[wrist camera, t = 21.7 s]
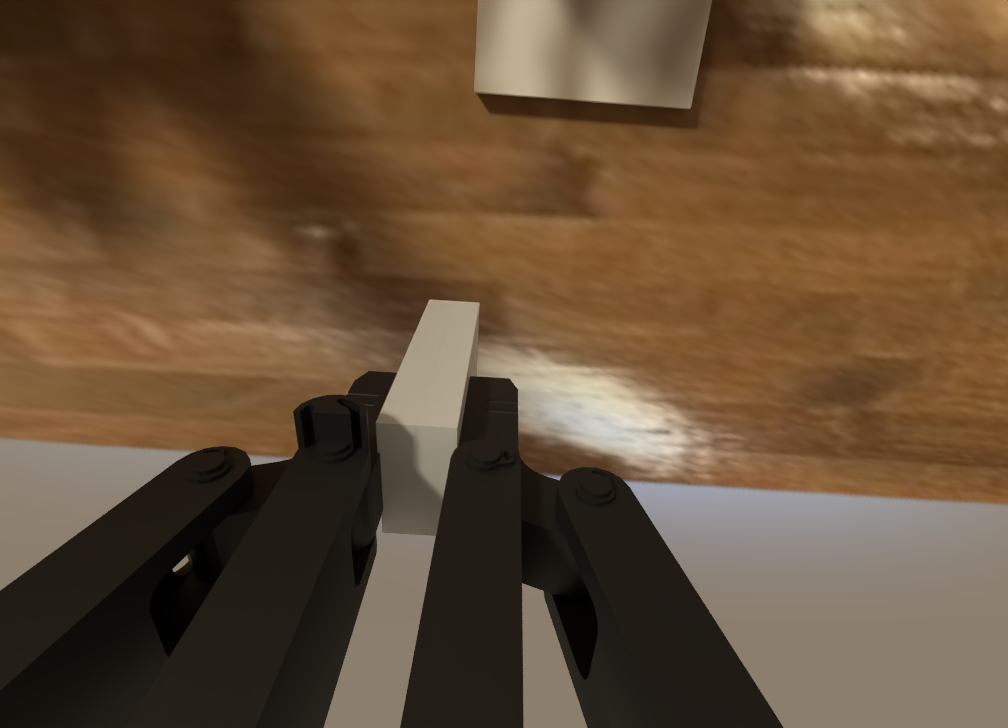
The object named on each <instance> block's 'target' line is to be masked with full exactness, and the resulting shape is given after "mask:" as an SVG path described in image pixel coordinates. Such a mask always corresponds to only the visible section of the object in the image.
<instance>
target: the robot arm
mask: <svg viewBox="0 0 1008 728" xmlns="http://www.w3.org/2000/svg"><path fill="white" fill-rule="evenodd" d="M479 306H480V303H476V302H461V301H445V300H430V299H429V302H428V304H427V306H426V308H425V311H424V313H423V315H422V318H421V320H420V322H419V324H418V327H417V329H416V331H415V334H414V336H413V338H412V341H411V343H410V345H409V347H408V350H407V352H406V354H405V357H404V359H403V361H402V364H401V366H400V368H399V370H398V373H391V372H375V371H368V372H367V373H365V374H364V375H363V376H361V377H360V378H358V379H357V380H355V381H354V383H353V385H352V387H351V388H350V390H349V392H348V394H347V395H346V396H345V395H326V396H321V397H317V398H313V399H311V400H308V401H306V402H304V403H302V404H301V405H299V406H298V407H297V408H296V409H295V410H294V411H293V413H294V420H295V427H296V433H297V440H298V447H299V449H298V450H297V452H296V453H295V455H294V457H293V458H292V459H289V460H285V461H280V462H274V463H267V464H261V465H253V466H251V462H250V458H249V457H248V455H247V454H246V452H245V451H242V450H240V449H238V448H235V447H225V446H220V447H211V448H206V449H203V450H200V451H196V452H193V453H190V454H189V455H187V456H185V457H184V458H182V459H180V460H178V461H176V462H175V463H174V464H172V465H171V466H170V467H168V468H167V469H166V470H164V471H163V472H162V473H160V474H159V475H157V476H156V477H155V478H153V479H152V480H151V481H150V482H148V483H147V484H145V485H144V486H143V487H141V488H140V489H138V490H137V491H136V492H134V493H133V494H132V495H130V496H129V497H127V498H126V499H125V500H123V501H122V502H121V503H119V504H118V505H116V506H115V507H114V508H112V509H111V510H110V511H108V512H107V513H106V514H104V515H103V516H102V517H100V518H99V519H97V520H96V521H95V522H93V523H92V524H91V525H89V526H88V527H87V528H85V529H84V530H82V531H81V532H80V533H78V534H77V535H76V536H74V537H73V538H72V539H70V540H69V541H68V542H66V543H65V544H63V545H62V546H61V547H59V548H58V549H57V550H55V551H54V552H52V553H51V554H50V555H48V556H47V557H46V558H44V559H43V560H42V561H40V562H39V563H37V564H36V565H35V566H33V567H32V568H31V569H29V570H28V571H27V572H25V573H24V574H22V575H21V576H20V577H18V578H17V579H16V580H14V581H13V582H12V583H10V584H9V585H7V586H6V587H5V588H3V589H2V590H1V591H0V728H323V727H324V724H325V720H326V717H327V714H328V711H329V707H330V704H331V701H332V698H333V694H334V691H335V688H336V685H337V681H338V678H339V675H340V671H341V668H342V665H343V661H344V658H345V655H346V652H347V648H348V645H349V642H350V638H351V635H352V632H353V629H354V625H355V622H356V619H357V615H358V612H359V609H360V605H361V602H362V599H363V596H364V592H365V589H366V586H367V583H368V579H369V576H370V573H371V569H372V566H373V563H374V559H375V556H376V552H377V539H376V530H377V527H378V524H379V521H380V518H381V515H382V530H383V532H384V533H400V534H417V535H434V536H436V539H435V544H434V549H433V555H432V560H431V566H430V571H429V576H428V582H427V587H426V592H425V598H424V603H423V608H422V614H421V619H420V625H419V630H418V636H417V641H416V646H415V651H414V657H413V663H412V668H411V673H410V678H409V684H408V689H407V694H406V700H405V706H404V711H403V716H402V721H401V726H400V728H523V654H522V652H523V651H522V650H523V648H522V646H523V644H522V583H524V584H526V585H529V586H532V587H535V588H537V589H540V590H543V591H544V597H545V601H546V604H547V607H548V610H549V613H550V616H551V619H552V622H553V625H554V628H555V631H556V634H557V637H558V640H559V643H560V646H561V649H562V651H563V655H564V658H565V661H566V664H567V667H568V670H569V673H570V676H571V679H572V682H573V685H574V688H575V691H576V694H577V697H578V700H579V703H580V706H581V709H582V712H583V715H584V718H585V721H586V724H587V727H588V728H783V726H782V725H781V723H780V721H779V720H778V718H777V717H776V715H775V713H774V712H773V710H772V709H771V707H770V706H769V704H768V703H767V701H766V699H765V698H764V696H763V695H762V693H761V692H760V690H759V689H758V687H757V685H756V684H755V682H754V681H753V679H752V678H751V676H750V674H749V673H748V671H747V670H746V668H745V667H744V665H743V664H742V662H741V660H740V659H739V657H738V656H737V654H736V653H735V651H734V649H733V648H732V646H731V645H730V643H729V642H728V640H727V639H726V637H725V636H724V634H723V632H722V631H721V629H720V628H719V626H718V624H717V623H716V621H715V620H714V618H713V617H712V615H711V614H710V612H709V610H708V609H707V607H706V606H705V604H704V603H703V601H702V600H701V598H700V596H699V595H698V593H697V592H696V590H695V589H694V587H693V586H692V584H691V582H690V581H689V579H688V578H687V576H686V575H685V573H684V571H683V570H682V568H681V567H680V565H679V564H678V562H677V561H676V559H675V558H674V556H673V554H672V553H671V551H670V550H669V548H668V546H667V545H666V543H665V542H664V540H663V539H662V537H661V536H660V534H659V532H658V531H657V529H656V528H655V526H654V525H653V523H652V521H651V520H650V518H649V517H648V515H647V514H646V512H645V511H644V509H643V507H642V506H641V505H640V503H639V501H638V500H637V498H636V496H635V495H634V493H633V492H632V490H631V489H630V487H629V486H628V485H627V484H626V483H625V482H624V481H623V480H622V479H621V478H620V477H618V476H616V475H614V474H613V473H611V472H609V471H606V470H602V469H598V468H589V467H581V468H577V469H573V470H570V471H568V472H567V473H566V474H564V475H563V476H562V477H561V479H560V481H559V480H556V479H553V478H549V477H546V476H544V475H541V474H539V473H537V472H535V471H533V470H532V469H530V468H529V467H528V466H527V465H526V464H525V463H523V461H522V459H521V458H520V456H519V451H518V389H517V388H516V387H515V385H514V384H513V383H512V381H511V380H510V379H507V378H491V377H476V376H477V352H478V329H479ZM186 555H187V556H188V559H189V561H188V562H187V563H186V564H185V565H184V566H183V567H182V568H181V569H179V570H178V571H176V572H173V570H172V569H173V568H174V567H175V566H176V565H177V564H178V563H179V562H180V561H181V560H182V559H183V558H184V557H185V556H186Z"/></svg>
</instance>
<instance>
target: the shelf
mask: <svg viewBox="0 0 1008 728" xmlns="http://www.w3.org/2000/svg"><path fill="white" fill-rule="evenodd" d="M711 4H712V0H478V14H477V37H476V59H475V82H474V92H475V93H479V94H492V95H505V96H518V97H531V98H544V99H556V100H569V101H582V102H595V103H608V104H620V105H633V106H646V107H659V108H672V109H685V110H686V109H691V105H692V100H693V95H694V90H695V84H696V79H697V74H698V69H699V64H700V59H701V54H702V49H703V44H704V39H705V34H706V29H707V24H708V19H709V14H710V9H711Z"/></svg>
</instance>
